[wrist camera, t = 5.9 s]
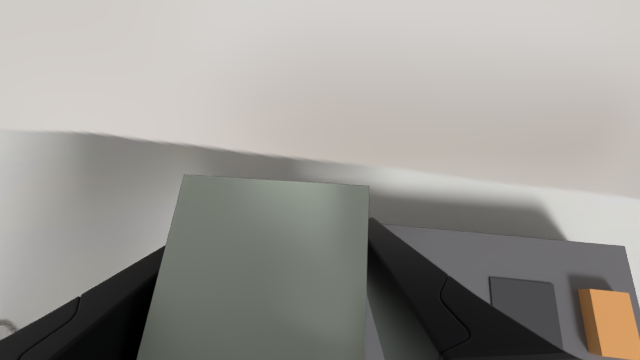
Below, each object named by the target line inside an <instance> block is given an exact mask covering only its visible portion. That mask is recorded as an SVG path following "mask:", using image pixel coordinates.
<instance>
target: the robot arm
mask: <svg viewBox="0 0 640 360" xmlns="http://www.w3.org/2000/svg"><path fill="white" fill-rule="evenodd" d="M165 247H166V245H165V246H163V247H162V248H160V249H158V250H157V251H155V252H153V253H151V254H150V255H148V256H146V257H145V258H143V259H141V260H140V261H138V262H136V263H134V264H133V265H131V266H129V267H128V268H126V269H124V270H123V271H121V272H119V273H117V274H116V275H114V276H112V277H111V278H109V279H107V280H106V281H104V282H102V283H100V284H99V285H97V286H95V287H94V288H92V289H90V290H88V291H87V292H85V293H83V294H82V295H81V297H76V298H75V299H73V300H71V301H70V302H68V303H66V304H65V305H63V306H61V307H59V308H58V309H56V310H54V311H52V312H51V313H49V314H47V315H45V316H44V317H42V318H40V319H38V320H37V321H35V322H33V323H31V324H29V325H27V326H25V327H24V328H22V329H20V330H18V331H16V332H14V333H13V334H11V335H9V336H7V337H5V338H3V339H1V340H0V360H137V356H138V352H139V348H140V344H141V340H142V336H143V332H144V328H145V325H146V321H147V317H148V313H149V309H150V305H151V301H152V297H153V293H154V289H155V286H156V282H157V278H158V274H159V270H160V266H161V262H162V258H163V254H164V251H165ZM366 293H367V297H368V301H369V305H370V308H371V312H372V315H373V319H374V323H375V326H376V330H377V334H378V337H379V341H380V344H381V348H382V352H383V355H384V359H385V360H583V359H580V358H578V357H576V356H574V355H572V354H570V353H568V352H566V351H565V350H563V349H561V348H560V347H558V346H556V345H555V344H553V343H551V342H550V341H548V340H547V339H545V338H543V337H542V336H540V335H539V334H537V333H535V332H534V331H532V330H531V329H529V328H527V327H526V326H524V325H523V324H521V323H519V322H518V321H516V320H515V319H513V318H511V317H510V316H508V315H507V314H505V313H503V312H502V311H500V310H499V309H497V308H496V307H494V306H493V305H491V304H490V303H488V302H486V301H485V300H483V299H482V298H480V297H479V296H477V295H476V294H475V293H473V292H472V291H470V290H469V289H468V288H466V287H465V286H463V285H462V284H461V283H459V282H458V281H457V280H455V279H454V278H453V277H451V276H449V275H448V274H447V273H446V272H445V271H443V270H442V269H441V268H439V267H438V266H437V265H435V264H434V263H433V262H431V261H430V260H429V259H427V258H426V257H425V256H423V255H422V254H421V253H419V252H418V251H417V250H415V249H414V248H413V247H411V246H410V245H409V244H407V243H406V242H405V241H403V240H402V239H401V238H399V237H398V236H397V235H395V234H394V233H393V232H391V231H390V230H389V229H387V228H386V227H385V226H383V225H382V224H381V223H380V222H378V221H377V220H376V219H374V218H368V247H367V283H366Z"/></svg>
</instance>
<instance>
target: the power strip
mask: <svg viewBox="0 0 640 360" xmlns="http://www.w3.org/2000/svg"><path fill="white" fill-rule="evenodd" d="M382 225H383V226H385V227H386V228H387V229H389V230H390V231H391V232H393V233H394V234H395V235H397V236H398V237H399V238H401V239H402V240H403V241H405V242H406V243H407V244H409V245H410V246H411V247H413V248H414V249H415V250H417V251H418V252H419V253H421V254H422V255H423V256H425V257H426V258H427V259H429V260H430V261H431V262H433V263H434V264H435V265H437V266H438V267H439V268H441V269H442V270H443V271H445V272H446V273H447V274H448V275H449V276H451V277H453V278H454V279H455V280H457V281H458V282H459V283H461V284H462V285H463V286H465V287H466V288H468V289H469V290H470V291H472V292H473V293H475V294H476V295H477V296H479V297H480V298H482V299H483V300H485V301H486V302H488V303H490V304H491V305H493V306H494V307H496V308H497V309H499V310H500V311H502V312H503V313H505V314H507V315H508V316H510V317H511V318H513V319H515V320H516V321H518V322H519V323H521V324H523V325H524V326H526V327H527V328H529V329H531V330H532V331H534V332H535V333H537V334H539V335H540V336H542V337H543V338H545V339H547V340H548V341H550V342H551V343H553V344H555V345H556V346H558V347H560V348H561V349H563V350H565V351H566V352H568V353H570V354H572V355H574V356H576V357H578V358H580V359H583V360H640V308H639V304H638V300H637V296H636V292H635V288H634V283H633V279H632V275H631V271H630V267H629V263H628V259H627V254H626V250H625V246H617V245H606V244H595V243H584V242H573V241H562V240H551V239H540V238H529V237H519V236H508V235H497V234H486V233H475V232H464V231H453V230H442V229H431V228H420V227H410V226H399V225H388V224H382ZM364 360H385V359H384V355H383V352H382V348H381V344H380V341H379V337H378V334H377V330H376V326H375V323H374V319H373V315H372V312H371V308H370V305H369V301H368V297H367V293H366V319H365V354H364Z"/></svg>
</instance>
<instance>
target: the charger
mask: <svg viewBox="0 0 640 360" xmlns="http://www.w3.org/2000/svg"><path fill="white" fill-rule="evenodd" d="M368 211H369V186H362V185H346V184H330V183H314V182H298V181H282V180H266V179H250V178H233V177H217V176H201V175H185V174H184V177H183V180H182V184H181V188H180V192H179V196H178V200H177V204H176V208H175V212H174V215H173V219H172V223H171V227H170V231H169V235H168V239H167V243H166V247H165V251H164V254H163V258H162V262H161V266H160V270H159V274H158V278H157V282H156V286H155V289H154V293H153V297H152V301H151V305H150V309H149V313H148V317H147V321H146V325H145V328H144V332H143V336H142V340H141V344H140V348H139V352H138V356H137V360H364V354H365V319H366V283H367V247H368Z"/></svg>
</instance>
